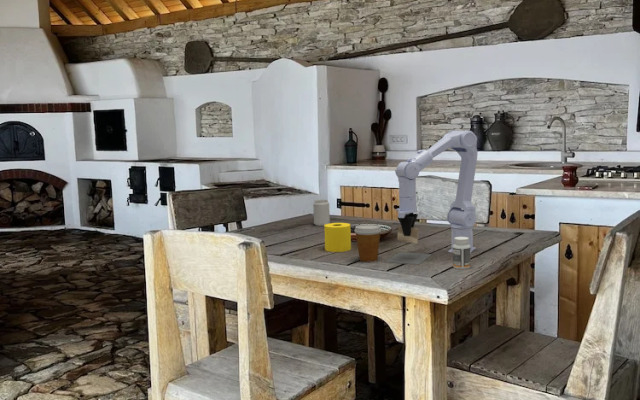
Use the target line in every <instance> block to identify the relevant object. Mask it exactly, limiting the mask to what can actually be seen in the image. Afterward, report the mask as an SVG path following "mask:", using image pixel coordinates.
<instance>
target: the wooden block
mask: <svg viewBox="0 0 640 400" xmlns="http://www.w3.org/2000/svg"><path fill="white" fill-rule="evenodd" d="M419 232H420V228H418V227H414V228H412V227H411V234H410V236H404V234H403V230H402V226H401V225H398V226H397V239H396V240H397V241H400V242H404V243H405V242H407V243H413V244H418V243H419Z"/></svg>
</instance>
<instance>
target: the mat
mask: <svg viewBox="0 0 640 400" xmlns="http://www.w3.org/2000/svg"><path fill="white" fill-rule="evenodd" d="M431 256H433V254H432V253H431V254H430V253H418V252H405V251H400V252H398V253H397V254H395V255H393V256H392V257H390V258H388V259H387V260H385V263H389V264H391V263H392V264H404V265H416V266H417V265H418V266H420V265H421V264H422V263H423V262H425V261H427V260H428V259H429V258H430V257H431Z"/></svg>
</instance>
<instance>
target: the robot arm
mask: <svg viewBox="0 0 640 400" xmlns="http://www.w3.org/2000/svg"><path fill="white" fill-rule="evenodd" d="M477 143H478V137H477V136H476V135H475V133H474V132H473V131H472V130H449V131H448V132H447V133H444V135H443V137H441V138H440V139H439V140H438V141H436V143H434V144H433V145H432V146H431V147H429V148H427V149H418V150H417V151H416V153H415V154H414V155H413V156H411V157H407V160H406V161H401V162H399V163H398V165H397V166H396V169H395V170H394V172H395V175H396V176H397V182H398V198H399V199H398V201H399V203H398V205H399V208H396V209H395V210H396V212H397V220H398V222H399V223H400V226H402V230H403V234H404V236H410V234H411V227H412V228H415V223H416V221H417V218H418V216H419V215H418V214H417V212H418V207H417V191H416V189H417V187H416V186H417V183H416V181H417V180H416V179H417V178H418V177H419V174H420V172H421V171H423V170H424V169H425V168H427V167H428V166H430V165H431V164H432V163H433V160H434V158H435V157H437V156H438V155H441V154H442V153H443V152H445V151H446V150H448V149H452V150H453V151H454V152H456V153H457V154H458V156H460V158H461V159H460V165H459V171H458V172H459V174H458V181H457V185H456V186H457V187H456V196H455V200H453V202H452V203H451V204H450V207H449V210H448V211H447V214H446V220H447V222H448V223H449V224H450V225H449V226H450V228H451V230H450V231H451V233H450V234H451V240H450V241H451V242H450V243H451V244H450V245H451V248H450V249H449V250H448V251H447V252H448V253H453V245H454V244H455V242H454V238H455V237H468V238H469V242H468V244H469V245H470V254H471V253H472V252H473V251H475V250H476V248H477V247H475V246H474V240H473V239H474V232H473V228H474V227H473V226H475V224H476V222H477V215H476V207H475V206H474V204H473V203H472V197H473V189H474V183H475V175H476V168H477V167H476V166H477V161H478V148H477V145H478V144H477Z"/></svg>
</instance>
